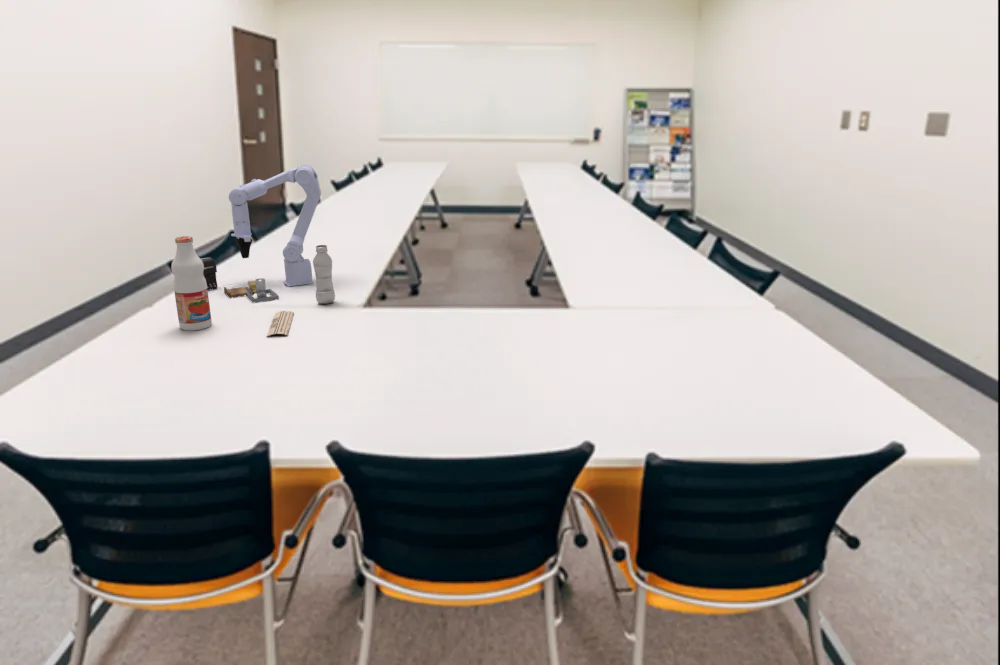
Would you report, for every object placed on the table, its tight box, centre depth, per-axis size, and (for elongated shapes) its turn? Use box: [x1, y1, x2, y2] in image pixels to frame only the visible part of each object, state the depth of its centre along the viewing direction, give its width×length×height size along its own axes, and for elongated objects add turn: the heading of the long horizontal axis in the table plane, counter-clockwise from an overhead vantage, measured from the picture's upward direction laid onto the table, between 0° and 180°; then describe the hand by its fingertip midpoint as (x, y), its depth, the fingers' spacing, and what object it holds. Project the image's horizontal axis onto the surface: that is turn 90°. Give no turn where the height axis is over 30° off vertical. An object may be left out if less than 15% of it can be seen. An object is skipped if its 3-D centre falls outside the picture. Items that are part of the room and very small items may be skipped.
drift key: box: [247, 280, 257, 293], centre depth 268 cm, size 3×6×3 cm, turn 31°
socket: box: [244, 286, 280, 303], centre depth 263 cm, size 9×19×1 cm, turn 31°
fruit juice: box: [171, 235, 213, 332], centre depth 225 cm, size 9×9×28 cm
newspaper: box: [266, 310, 295, 338], centre depth 230 cm, size 24×7×2 cm, turn 10°
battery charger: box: [200, 257, 218, 291], centre depth 269 cm, size 7×4×11 cm, turn 134°
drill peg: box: [254, 277, 268, 298], centre depth 259 cm, size 3×3×6 cm
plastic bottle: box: [312, 244, 336, 305], centre depth 250 cm, size 6×7×20 cm
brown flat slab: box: [223, 286, 249, 298], centre depth 265 cm, size 7×9×2 cm
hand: (245, 257), depth 273 cm, fingers closed
